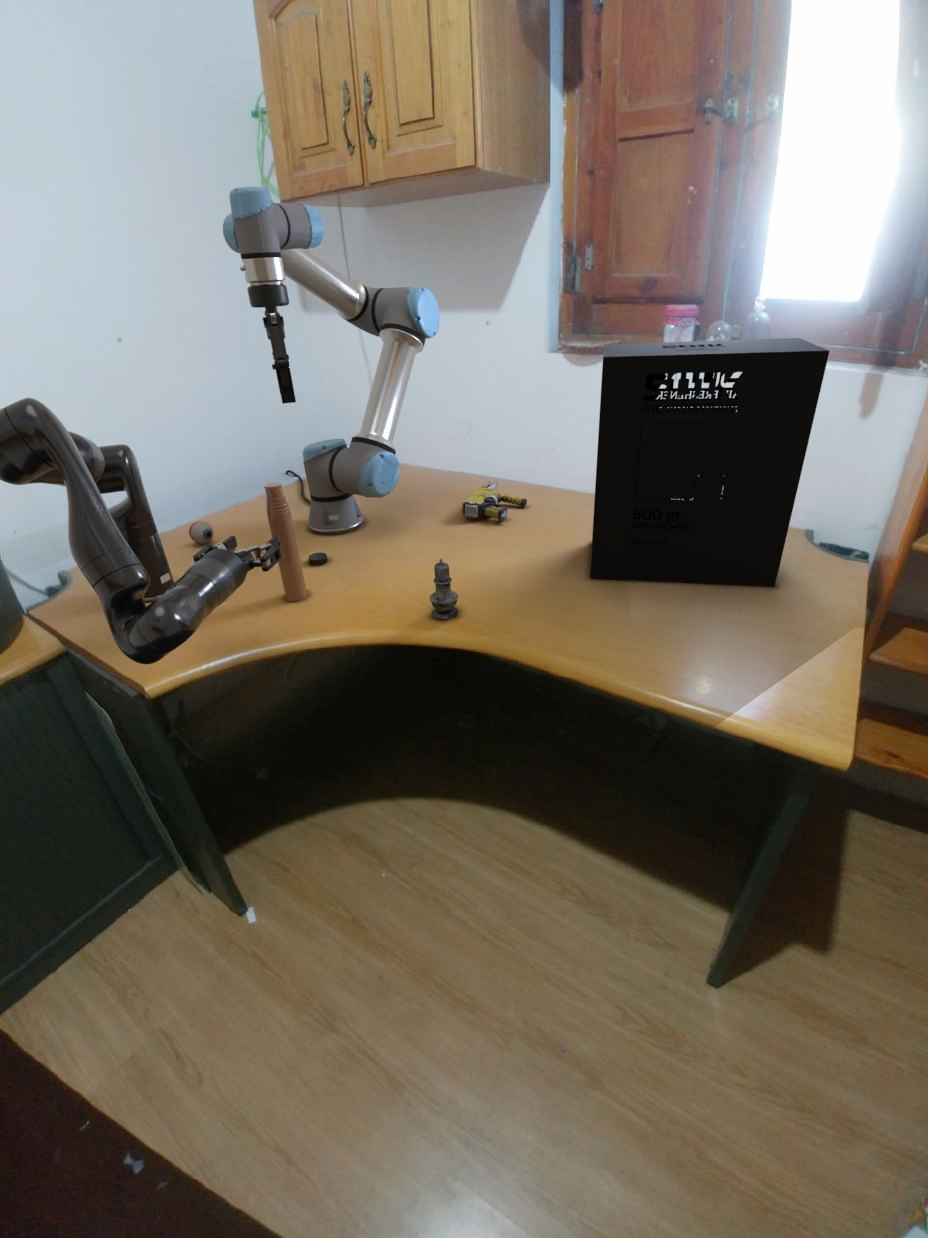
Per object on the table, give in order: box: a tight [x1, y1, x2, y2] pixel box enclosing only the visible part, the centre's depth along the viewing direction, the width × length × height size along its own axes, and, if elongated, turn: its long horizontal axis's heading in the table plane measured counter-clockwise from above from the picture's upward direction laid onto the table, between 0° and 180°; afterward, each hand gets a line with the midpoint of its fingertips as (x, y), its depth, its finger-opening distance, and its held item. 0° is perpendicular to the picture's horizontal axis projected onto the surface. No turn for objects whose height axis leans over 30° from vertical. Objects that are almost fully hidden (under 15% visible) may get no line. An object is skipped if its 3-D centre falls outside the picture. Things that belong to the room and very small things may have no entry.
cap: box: [308, 552, 329, 567], centre depth 148 cm, size 4×4×2 cm
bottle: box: [263, 481, 308, 602], centre depth 126 cm, size 5×5×25 cm
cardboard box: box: [589, 337, 830, 587], centre depth 126 cm, size 38×20×45 cm, turn 78°
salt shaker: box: [428, 558, 459, 620], centre depth 120 cm, size 6×6×12 cm
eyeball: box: [188, 520, 214, 545], centre depth 161 cm, size 6×6×6 cm
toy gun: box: [461, 480, 528, 523], centre depth 173 cm, size 5×24×15 cm
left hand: (255, 540), depth 114 cm, fingers open, 8 cm apart
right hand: (287, 397), depth 129 cm, fingers open, 13 cm apart
